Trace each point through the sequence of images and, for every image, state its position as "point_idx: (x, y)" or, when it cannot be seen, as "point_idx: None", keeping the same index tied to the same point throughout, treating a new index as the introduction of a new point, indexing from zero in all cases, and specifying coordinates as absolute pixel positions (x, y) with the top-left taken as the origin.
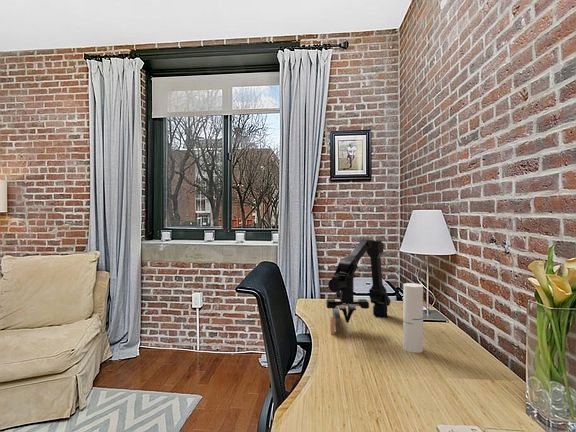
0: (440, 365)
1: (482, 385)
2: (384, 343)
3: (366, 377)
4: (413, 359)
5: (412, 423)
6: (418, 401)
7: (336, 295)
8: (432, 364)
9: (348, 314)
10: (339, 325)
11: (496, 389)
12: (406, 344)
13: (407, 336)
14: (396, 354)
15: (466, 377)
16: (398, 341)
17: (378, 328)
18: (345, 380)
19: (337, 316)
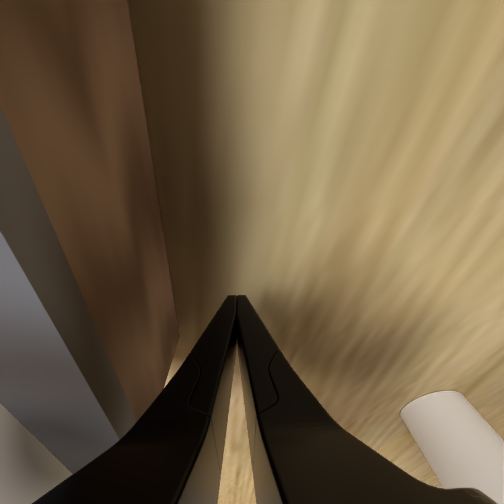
0: (419, 450)
1: (425, 475)
2: (365, 386)
3: (239, 485)
4: (380, 441)
5: None
6: None
7: None
8: (405, 449)
9: (247, 424)
10: (164, 380)
11: (435, 478)
12: (416, 442)
13: (443, 487)
14: (354, 431)
15: (425, 467)
16: (433, 369)
17: (479, 223)
18: None
19: None
